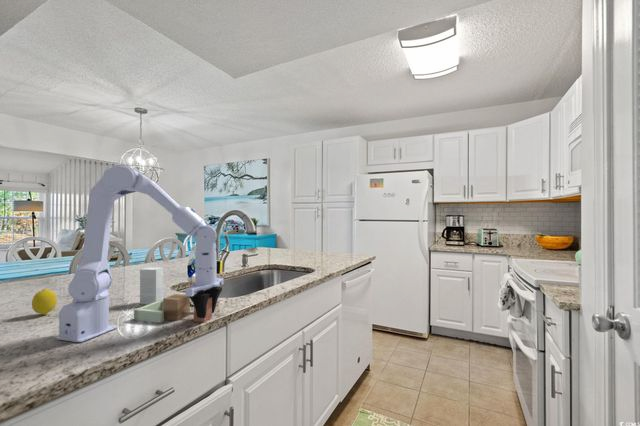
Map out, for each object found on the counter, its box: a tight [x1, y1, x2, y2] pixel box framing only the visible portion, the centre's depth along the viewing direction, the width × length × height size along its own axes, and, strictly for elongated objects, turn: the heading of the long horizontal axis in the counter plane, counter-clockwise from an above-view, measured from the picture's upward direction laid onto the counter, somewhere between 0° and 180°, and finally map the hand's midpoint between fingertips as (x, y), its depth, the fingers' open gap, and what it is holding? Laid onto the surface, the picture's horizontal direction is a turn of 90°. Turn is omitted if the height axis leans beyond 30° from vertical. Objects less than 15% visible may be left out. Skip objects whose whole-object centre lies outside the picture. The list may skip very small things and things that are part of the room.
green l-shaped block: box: [133, 300, 165, 324], centre depth 87 cm, size 10×9×3 cm
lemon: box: [31, 288, 58, 316], centre depth 88 cm, size 6×6×8 cm
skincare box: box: [139, 267, 165, 305], centre depth 100 cm, size 6×4×12 cm
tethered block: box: [163, 293, 213, 323], centre depth 84 cm, size 5×13×6 cm, turn 75°
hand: (206, 315), depth 83 cm, fingers closed on tethered block, 3 cm apart
